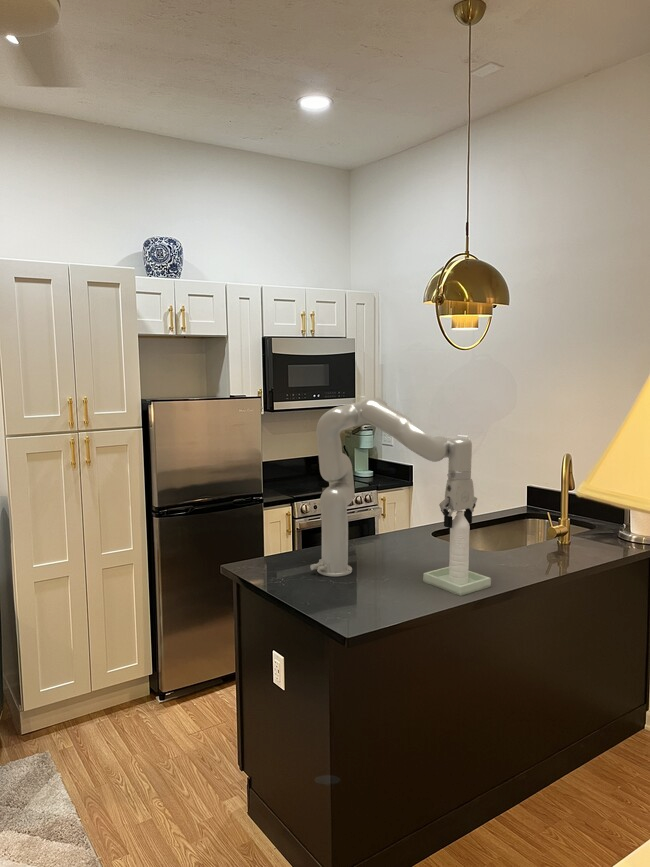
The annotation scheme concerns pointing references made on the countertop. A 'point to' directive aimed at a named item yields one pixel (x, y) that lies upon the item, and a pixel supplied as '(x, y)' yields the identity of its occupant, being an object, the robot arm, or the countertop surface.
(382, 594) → the countertop surface
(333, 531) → the robot arm
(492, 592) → the countertop surface
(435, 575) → the tray
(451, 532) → the water bottle
